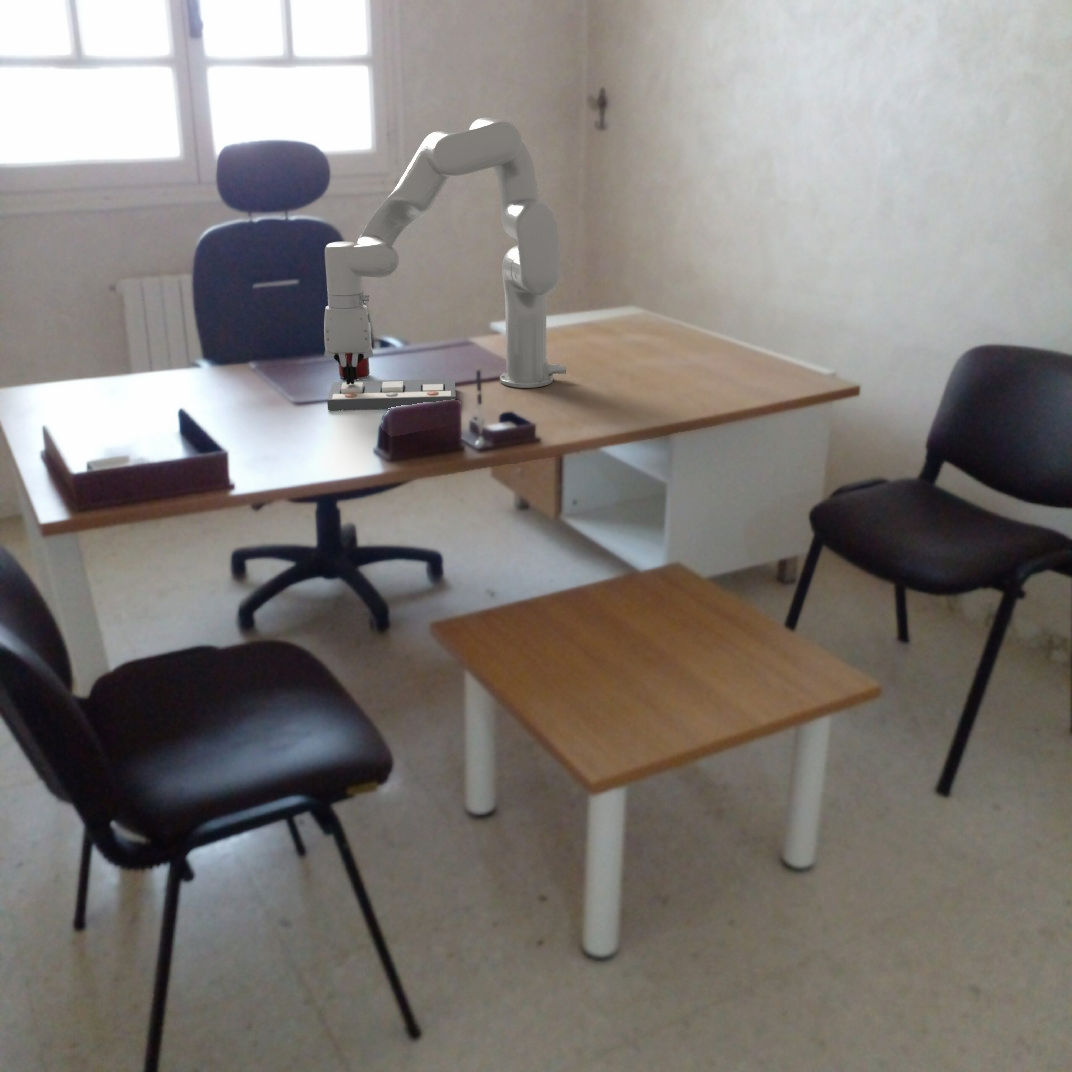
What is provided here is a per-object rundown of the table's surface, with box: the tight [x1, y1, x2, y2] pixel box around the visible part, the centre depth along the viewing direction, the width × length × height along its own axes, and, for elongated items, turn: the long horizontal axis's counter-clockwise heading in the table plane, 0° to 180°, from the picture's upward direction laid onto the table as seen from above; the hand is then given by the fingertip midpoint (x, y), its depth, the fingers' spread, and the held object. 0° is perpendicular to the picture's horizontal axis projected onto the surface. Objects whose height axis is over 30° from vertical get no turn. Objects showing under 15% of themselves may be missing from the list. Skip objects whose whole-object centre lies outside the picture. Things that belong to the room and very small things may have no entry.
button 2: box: [423, 384, 443, 392], centre depth 254 cm, size 5×5×1 cm
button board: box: [326, 378, 457, 412], centre depth 254 cm, size 28×14×3 cm, turn 95°
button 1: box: [341, 382, 363, 394], centre depth 253 cm, size 5×5×1 cm
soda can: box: [337, 353, 371, 380], centre depth 270 cm, size 7×7×12 cm
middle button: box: [382, 381, 403, 393], centre depth 253 cm, size 5×5×1 cm
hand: (350, 382), depth 252 cm, fingers closed
